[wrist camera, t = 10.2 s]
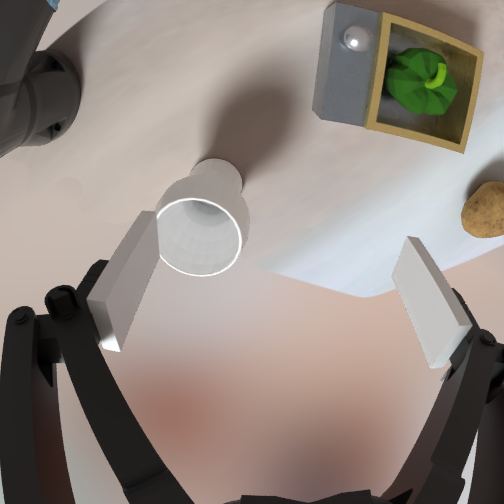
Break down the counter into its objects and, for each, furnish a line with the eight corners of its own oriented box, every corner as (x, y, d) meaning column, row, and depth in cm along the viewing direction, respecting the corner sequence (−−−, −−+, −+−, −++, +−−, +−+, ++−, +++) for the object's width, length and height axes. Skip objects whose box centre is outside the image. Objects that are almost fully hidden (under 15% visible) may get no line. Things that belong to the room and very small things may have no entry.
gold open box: (311, 109, 38) (324, 122, 31) (324, 10, 30) (340, -2, 23) (435, 136, 39) (467, 156, 31) (451, 49, 31) (488, 52, 23)
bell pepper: (412, 119, 37) (448, 138, 29) (365, 85, 35) (394, 94, 27) (440, 73, 33) (481, 82, 24) (394, 36, 31) (430, 34, 22)
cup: (199, 134, 41) (169, 172, 28) (267, 172, 44) (268, 224, 31) (167, 196, 46) (133, 253, 34) (229, 228, 49) (218, 294, 36)
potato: (448, 181, 42) (473, 203, 36) (509, 166, 40) (537, 185, 33) (449, 232, 48) (470, 258, 41) (507, 214, 45) (530, 237, 38)
